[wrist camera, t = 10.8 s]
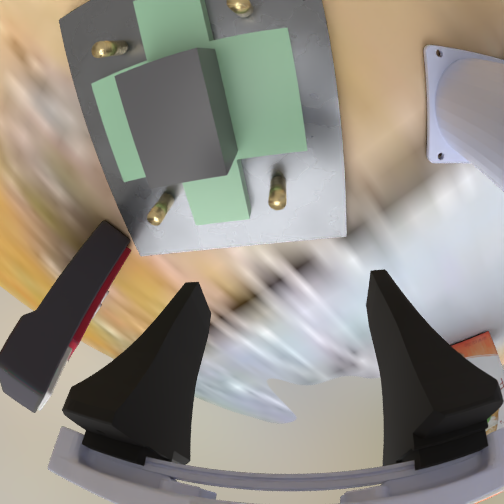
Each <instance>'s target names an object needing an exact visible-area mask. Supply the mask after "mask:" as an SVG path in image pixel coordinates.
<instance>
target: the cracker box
mask: <svg viewBox="0 0 504 504" xmlns="http://www.w3.org/2000/svg"><path fill="white" fill-rule="evenodd" d="M451 347H453V348H454V349H455V350H456V351H457V352H459V353H460V354H461V355H462V356H463V357H465V358H466V359H467V360H468V361H470V362H471V363H473V364H474V365H475V366H477V367H478V368H479V369H481V370H483V371H484V372H486V373H487V374H489V375H491V376H492V377H494V378H495V379H497V381H498V383H499V386H500V389H501V393H502V396H503V400H504V370H503V366H502V364H501V361H500V358H499V356H498V353H497V351H496V348H495V345H494V343H493V341H492V338H491V336H490V333H489V332H488V331H487V332H485V333H483V334H480V335H478V336H475V337H473V338H470V339H468V340H465V341H463V342H460V343H457V344H454V345H452V346H451ZM487 422H488V428H487V429H485V431H486V435H488V434H490V433H492V432H494V431H496V430H498V429H501V428H503V427H504V402H503V404H502V406H501V407H500V408H499V409H498V410H497V411H496V412H495V413H494V414H492V415H491V416H490V417H489V418H488V419H487ZM503 491H504V486H503V487H501V488H499V489H497V490H495V491H493V492H491V493H489V494H487V495H485V496H483V497H481V498H478V499H476V500H474V501H472V502H470V503H467V504H476V503H479V502H481V501H483V500H486V499H488V498H490V497H492V496H495V495H497V494H499V493H501V492H503Z"/></svg>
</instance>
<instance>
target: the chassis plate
mask: <svg viewBox="0 0 504 504" xmlns="http://www.w3.org/2000/svg"><path fill="white" fill-rule="evenodd" d="M133 1H135V0H90V1H88V2H87V3H85V4H83V5H82V6H80V7H78V8H77V9H75V10H73V11H72V12H70V13H69V14H67V15H66V16H64V17H63V18H61V19H60V20H59V23H60V28H61V33H62V38H63V42H64V47H65V51H66V55H67V59H68V63H69V67H70V71H71V75H72V78H73V82H74V85H75V89H76V92H77V96H78V99H79V102H80V106H81V109H82V112H83V115H84V118H85V121H86V124H87V127H88V130H89V133H90V136H91V139H92V142H93V145H94V147H95V150H96V153H97V156H98V158H99V161H100V164H101V166H102V169H103V171H104V174H105V177H106V179H107V182H108V184H109V187H110V189H111V191H112V194H113V196H114V199H115V201H116V203H117V206H118V208H119V210H120V213H121V215H122V217H123V219H124V222H125V224H126V226H127V228H128V231H129V233H130V235H131V237H132V239H133V241H134V243H135V246H136V248H137V250H138V252H139V254H140V256H148V255H158V254H168V253H178V252H188V251H198V250H208V249H218V248H228V247H239V246H249V245H259V244H270V243H280V242H291V241H302V240H313V239H323V238H334V237H345V236H346V191H345V170H344V155H343V141H342V130H341V119H340V110H339V101H338V92H337V85H336V77H335V70H334V63H333V57H332V51H331V45H330V39H329V34H328V28H327V23H326V18H325V13H324V9H323V4H322V0H205V4H206V8H207V13H208V17H209V21H210V25H211V30H212V34H213V38H214V40H218V39H222V38H227V37H231V36H236V35H241V34H247V33H253V32H259V31H265V30H272V29H280V28H288V33H289V38H290V43H291V48H292V53H293V59H294V64H295V70H296V76H297V82H298V88H299V94H300V101H301V107H302V114H303V121H304V128H305V136H306V144H307V151H301V152H291V153H283V154H274V155H266V156H259V157H252V158H245V159H241V163H242V168H243V172H244V177H245V181H246V186H247V191H248V195H249V200H250V205H251V209H252V210H251V215H250V219H247V220H238V221H229V222H221V223H212V224H204V225H196V224H195V221H194V218H193V215H192V212H191V209H190V206H189V203H188V200H187V197H186V193H185V190H184V187H183V184H182V183H179V184H173V185H168V186H163V187H158V188H153V189H150V187H149V184H148V181H147V178H146V177H144V178H140V179H135V180H131V181H127V182H124V181H123V178H122V176H121V173H120V170H119V168H118V165H117V162H116V160H115V157H114V154H113V151H112V148H111V145H110V143H109V140H108V137H107V134H106V131H105V128H104V125H103V122H102V118H101V115H100V112H99V109H98V106H97V102H96V99H95V96H94V92H93V89H92V85H91V84H92V83H94V82H96V81H98V80H100V79H103V78H105V77H107V76H109V75H112V74H114V73H116V72H119V71H121V70H123V69H126V68H128V67H131V66H133V65H136V64H139V63H141V62H144V61H147V58H146V54H145V50H144V46H143V42H142V38H141V34H140V30H139V26H138V21H137V17H136V13H135V8H134V4H133Z"/></svg>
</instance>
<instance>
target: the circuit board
mask: <svg viewBox="0 0 504 504" xmlns="http://www.w3.org/2000/svg"><path fill="white" fill-rule="evenodd" d="M133 4H134V8H135V13H136V17H137V21H138V26H139V30H140V34H141V38H142V42H143V46H144V50H145V54H146V58H147V61H144V62H141V63H139V64H136V65H133V66H131V67H128V68H126V69H123V70H121V71H119V72H116V73H114V74H112V75H109V76H107V77H105V78H103V79H100V80H98V81H96V82H94V83H92V84H91V85H92V89H93V92H94V96H95V99H96V102H97V106H98V109H99V112H100V115H101V118H102V122H103V125H104V128H105V131H106V134H107V137H108V140H109V143H110V145H111V148H112V151H113V154H114V157H115V160H116V162H117V165H118V168H119V170H120V173H121V176H122V178H123V181H124V182H127V181H131V180H135V179H140V178H144V177H146V178H147V181H148V184H149V187H150V189H153V188H158V187H163V186H168V185H173V184H179V183H182V184H183V187H184V190H185V193H186V197H187V200H188V203H189V206H190V209H191V212H192V215H193V218H194V221H195V224H196V225H204V224H212V223H221V222H229V221H238V220H247V219H250V215H251V210H252V209H251V205H250V200H249V195H248V191H247V186H246V181H245V177H244V172H243V168H242V163H241V159H245V158H252V157H259V156H266V155H274V154H283V153H291V152H301V151H307V144H306V136H305V128H304V121H303V114H302V107H301V101H300V94H299V88H298V82H297V76H296V70H295V64H294V59H293V53H292V48H291V43H290V38H289V33H288V28H280V29H272V30H265V31H259V32H253V33H247V34H241V35H236V36H231V37H227V38H222V39H218V40H214V38H213V34H212V30H211V25H210V21H209V17H208V13H207V8H206V4H205V0H135V1H133Z"/></svg>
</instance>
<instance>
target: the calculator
mask: <svg viewBox="0 0 504 504" xmlns="http://www.w3.org/2000/svg"><path fill="white" fill-rule="evenodd" d="M129 242H130V239H128V238H127V237H126V236H124V235H123V234H122V233H120V232H119V231H118V230H117V229H115V228H114V227H113V226H111V225H110V224H109V223H107V222H106V221H102V223H101V224H100V225H99V226H98V227H97V229H96V230H95V231H94V232H93V233H92V235H91V236H90V237H89V238H88V240H87V241H86V242H85V243H84V245H83V246H82V247H81V248H80V250H79V251H78V252H77V253H76V255H75V256H74V257H73V259H72V260H71V261H70V263H69V264H68V265H67V267H66V268H65V269H64V271H63V272H62V274H61V275H60V276H59V278H58V279H57V280H56V282H55V283H54V285H53V286H52V288H51V289H50V290H49V292H48V293H47V295H46V296H45V298H44V299H43V301H42V302H41V304H40V305H39V307H38V308H37V310H35V311H33V312H31V313H28V314H25V315H23V316H22V317H21V318H20V320H19V321H18V323H17V324H16V326H15V328H14V329H13V331H12V333H11V334H10V336H9V337H8V339H7V341H6V343H5V344H4V346H3V348H2V350H1V352H0V383H1V386H2V390H3V392H4V393H6V394H7V395H9V396H10V397H11V398H13V399H14V400H15V401H17V402H18V403H20V404H21V405H23V406H24V407H26V408H27V409H29V410H30V411H32V412H34V413H35V412H36V411H37V409H38V410H41V409H42V408H43V406H44V405H45V403H46V402H47V401H48V399H49V398H50V396H51V395H52V393H53V390H54V388H55V386H56V384H57V382H58V379H59V377H60V375H61V373H62V370H63V368H64V366H65V364H66V362H67V361H69V359H70V357H71V355H72V353H73V352H74V350H75V349H76V347H77V346H78V344H79V342H80V341H81V339H82V337H83V335H84V333H85V331H86V329H87V327H88V325H89V323H90V321H91V319H93V317H94V316H95V314H96V313H97V312H98V310H99V309H100V307H101V305H102V304H101V303H102V302H103V300H104V299H105V297H106V296H107V295H108V293H109V291H108V289H109V287H110V285H111V284H112V282H113V280H114V279H115V277H116V275H117V274H118V272H119V270H120V269H121V267H122V265H123V264H124V262H125V260H126V259H127V257H128V256H129V254H130V252H131V249H129V248H128V247H127V245H128V244H129Z"/></svg>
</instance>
